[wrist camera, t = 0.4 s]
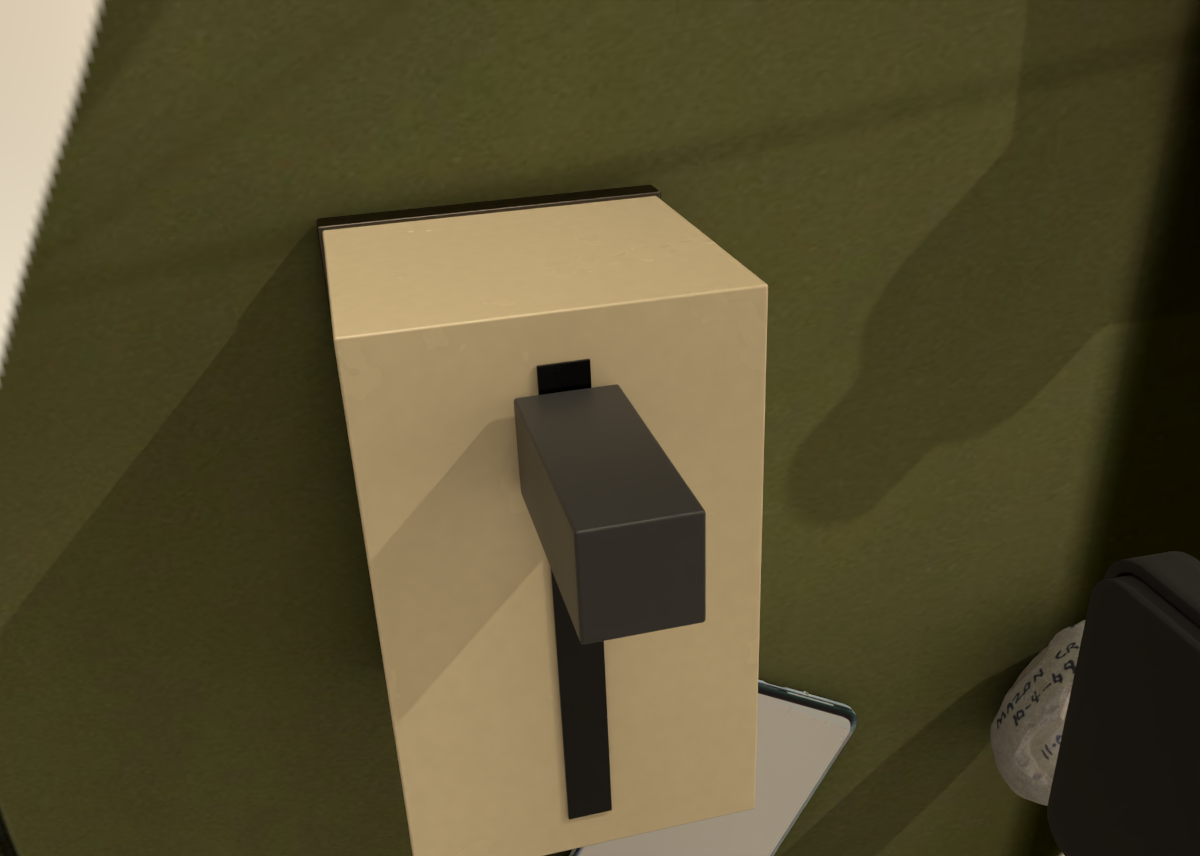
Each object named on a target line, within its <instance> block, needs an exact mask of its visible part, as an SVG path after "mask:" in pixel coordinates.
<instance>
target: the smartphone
mask: <svg viewBox="0 0 1200 856" xmlns="http://www.w3.org/2000/svg"><path fill="white" fill-rule="evenodd" d="M856 724H857V716H856V714H855V713H854V711H853V710H852V709H851V708H850V707H849V706H848V705H845V704H842V703H839V702H836V701H832V700H829V699H825V698H822V697H818V696H815V695H811V694H809V693H808V692H805V691H804V692H801V691H797V690H794V689H790V688H787V687H778V686H775V685H771V684H768V683H765V682H764V681H762V680H759V679H758V706H757V746H756V786H755V808H754V809H750V810H746V811H741V812H737V813H732V814H728V815H723V816H719V817H714V818H710V819H705V820H701V821H696V822H692V823H688V824H683V825H679V826H674V827H670V828H665V829H661V830H656V831H652V832H647V833H643V834H638V835H634V836H629V837H625V838H620V839H616V840H612V841H607V842H603V843H598V844H594V845H589V846H585V847H580V848H576V849H572V851H571V853H570V854H569V856H773V855H774V854H775V852H776V850H777V849H778V847H779V846H780V844H781V843H782V841H783V840H784V838H785V837H786V835H787V833H788V832H789V830H790V829H791V827H792V826H793V824H794V823H795V821H796V819H797V818H798V816H799V815H800V813H801V812H802V810H803V809H804V807H805V806H806V804H807V802H808V801H809V799H810V798H811V796H812V795H813V793H814V792H815V790H816V789H817V787H818V785H819V784H820V782H821V781H822V779H823V778H824V776H825V775H826V773H827V771H828V770H829V768H830V767H831V765H832V764H833V762H834V761H835V759H836V758H837V756H838V754H839V753H840V751H841V750H842V748H843V747H844V745H845V744H846V742H847V741H848V739H849V737H850V736H851V734H852V733H853V731H854V730H855V728H856Z"/></svg>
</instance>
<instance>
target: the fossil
mask: <svg viewBox="0 0 1200 856" xmlns="http://www.w3.org/2000/svg"><path fill="white" fill-rule="evenodd" d="M1084 625H1085V620H1084V621H1081V622H1079V623H1078V624H1076V625H1074V626H1071V627H1068V628H1065V629H1063V630H1062V631H1060V632H1058V633H1057V634H1056V635H1055V636H1054V637H1053V639H1052V640H1051V641H1050V642H1049V645H1048V646H1046V647H1045V648H1044V649H1043V650H1042V651H1041V652H1040V653H1039V654H1038V655H1037V656H1036V657H1034V659H1033V660H1032V661H1031V662H1030V663H1029V664H1028V665H1027V666H1026V668H1025V669H1024V670H1023V671H1022V673H1021V674H1020V675H1019V677H1018V678H1017V680H1016V682H1015V683H1014V685H1013V686H1012V687H1011V688H1010V689H1009V690H1008V692H1007V694H1006V695H1005V697H1004V699H1003V702H1002V704H1001V707H1000V709H999V711H998V713H997V715H996V716H995V718H994V720H993V722H992V724H991V729H990V742H991V747H992V751H993V755H994V758H995V763H996V766H997V768H998V771H999V772H1000V774H1001V776H1002V777H1003V779H1004V780H1005V782H1006V784H1007V785H1008V786H1009V787H1010V788H1011V789H1012V791H1013V792H1014V793H1016V794H1017V795H1018V796H1020V797H1022V798H1025V799H1028V800H1031V801H1033V802H1036V803H1039V804H1042V805H1048V801H1049V796H1050V791H1051V786H1052V781H1053V776H1054V771H1055V767H1056V762H1057V757H1058V752H1059V747H1060V742H1061V737H1062V732H1063V727H1064V723H1065V718H1066V713H1067V708H1068V703H1069V698H1070V693H1071V688H1072V684H1073V679H1074V674H1075V669H1076V664H1077V659H1078V654H1079V649H1080V645H1081V640H1082V635H1083V630H1084Z"/></svg>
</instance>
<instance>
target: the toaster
mask: <svg viewBox="0 0 1200 856" xmlns="http://www.w3.org/2000/svg"><path fill="white" fill-rule="evenodd" d="M316 222H317V231H318V238H319V244H320V251H321V257H322V264H323V270H324V277H325V283H326V290H327V296H328V303H329V310H330V316H331V323H332V331H333V340H334V347H335V353H336V360H337V366H338V373H339V379H340V386H341V392H342V399H343V405H344V412H345V418H346V425H347V431H348V438H349V444H350V451H351V457H352V464H353V470H354V477H355V483H356V490H357V496H358V503H359V509H360V516H361V522H362V529H363V535H364V542H365V548H366V555H367V561H368V568H369V574H370V581H371V587H372V594H373V600H374V607H375V613H376V620H377V626H378V633H379V639H380V646H381V652H382V659H383V665H384V672H385V678H386V685H387V691H388V698H389V704H390V711H391V717H392V724H393V730H394V737H395V743H396V750H397V756H398V763H399V769H400V776H401V782H402V789H403V795H404V802H405V808H406V815H407V821H408V828H409V834H410V841H411V847H412V854H413V856H545V855H549V854H553V853H558V852H562V851H567V850H571V849H576V848H580V847H585V846H589V845H594V844H598V843H603V842H607V841H612V840H616V839H620V838H625V837H629V836H634V835H638V834H643V833H647V832H652V831H656V830H661V829H665V828H670V827H674V826H679V825H683V824H688V823H692V822H696V821H701V820H705V819H710V818H714V817H719V816H723V815H728V814H732V813H737V812H741V811H746V810H750V809H754V808H755V786H756V746H757V706H758V666H759V626H760V586H761V546H762V506H763V466H764V426H765V386H766V346H767V306H768V285H767V284H766V283H765V282H763V281H762V280H761V279H760V278H758V277H757V276H756V275H755V274H753V273H752V272H751V271H750V270H748V269H747V268H746V267H745V266H743V265H742V264H741V263H740V262H738V261H737V260H736V259H735V258H733V257H732V256H731V255H730V254H728V253H727V252H726V251H725V250H723V249H722V248H721V247H720V246H718V245H717V244H716V243H715V242H713V241H712V240H711V239H710V238H708V237H707V236H706V235H705V234H703V233H702V232H701V231H700V230H698V229H697V228H696V227H695V226H693V225H692V224H691V223H690V222H688V221H687V220H686V219H684V218H683V217H682V216H681V215H679V214H678V213H677V212H676V211H674V210H673V209H672V208H671V207H669V206H668V205H667V204H666V203H664V202H663V201H662V200H661V193H660V191H659V190H657V189H656V188H655V187H653V186H652V185H644V186H634V187H624V188H614V189H605V190H595V191H585V192H575V193H565V194H555V195H546V196H536V197H526V198H516V199H506V200H497V201H487V202H477V203H467V204H457V205H447V206H438V207H428V208H418V209H408V210H398V211H389V212H379V213H369V214H359V215H349V216H340V217H330V218H320V219H317V221H316ZM615 384H617V385H619V386H620V388H621V389H622V391H623V392H624V393H625V395H626V396H627V398H628V399H629V401H630V402H631V404H632V405H633V407H634V408H635V409H636V411H637V412H638V414H639V415H640V417H641V418H642V420H643V421H644V423H645V424H646V426H647V427H648V428H649V430H650V431H651V433H652V434H653V436H654V437H655V439H656V440H657V442H658V443H659V444H660V446H661V447H662V449H663V450H664V452H665V453H666V455H667V456H668V458H669V459H670V461H671V462H672V463H673V465H674V466H675V468H676V469H677V471H678V472H679V474H680V475H681V477H682V478H683V479H684V481H685V482H686V484H687V485H688V487H689V488H690V490H691V491H692V493H693V494H694V496H695V497H696V498H697V500H698V501H699V503H700V504H701V506H702V507H703V509H704V510H705V512H706V620H705V622H703V623H697V624H692V625H687V626H681V627H676V628H670V629H665V630H660V631H654V632H649V633H644V634H638V635H633V636H627V637H622V638H617V639H611V640H606V641H601V642H595V643H590V644H581V642H580V640H579V638H578V635H577V633H576V630H575V628H574V625H573V622H572V620H571V617H570V615H569V612H568V610H567V607H566V605H565V602H564V600H563V597H562V595H561V592H560V590H559V587H558V585H557V582H556V580H555V577H554V574H553V572H552V569H551V567H550V564H549V562H548V559H547V557H546V554H545V552H544V549H543V547H542V544H541V542H540V539H539V537H538V534H537V531H536V529H535V526H534V524H533V521H532V519H531V516H530V514H529V511H528V509H527V506H526V504H525V501H524V499H523V496H522V494H521V487H520V474H519V462H518V450H517V437H516V425H515V413H514V399H516V398H521V397H529V396H536V395H543V394H550V393H557V392H565V391H572V390H579V389H586V388H594V387H601V386H608V385H615Z"/></svg>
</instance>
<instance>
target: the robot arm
mask: <svg viewBox="0 0 1200 856" xmlns="http://www.w3.org/2000/svg"><path fill="white" fill-rule="evenodd" d="M1047 815H1048V823H1049V826H1050V830H1051V833H1052V835H1053V837H1054V839H1055V842H1056V844H1057V845H1058V847H1059V848H1060V850H1061V851H1062V852H1063V854H1064V855H1065V856H1200V561H1198V560H1197V559H1196V558H1194V557H1192V556H1190V555H1188V554H1186V553H1184V552H1177V551H1171V552H1165V553H1159V554H1153V555H1147V556H1141V557H1135V558H1130V559H1124V560H1120V561H1117V562H1115V563H1113V564H1112V565H1111V566H1110V567H1109V568H1108V570H1107V571H1106V573H1105V576H1104V579H1103V580H1102V581H1099V582H1098V583H1097V584H1096V585H1095V586H1094V587H1093V590H1092V593H1091V596H1090V601H1089V605H1088V610H1087V615H1086V620H1085V625H1084V630H1083V635H1082V640H1081V645H1080V649H1079V654H1078V659H1077V664H1076V669H1075V674H1074V679H1073V684H1072V688H1071V693H1070V698H1069V703H1068V708H1067V713H1066V718H1065V723H1064V727H1063V732H1062V737H1061V742H1060V747H1059V752H1058V757H1057V762H1056V767H1055V771H1054V776H1053V781H1052V786H1051V791H1050V796H1049V801H1048V808H1047Z"/></svg>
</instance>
